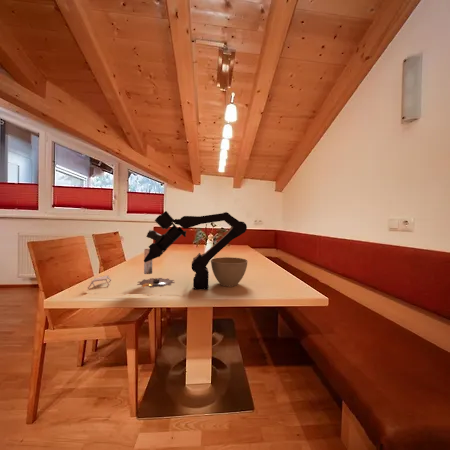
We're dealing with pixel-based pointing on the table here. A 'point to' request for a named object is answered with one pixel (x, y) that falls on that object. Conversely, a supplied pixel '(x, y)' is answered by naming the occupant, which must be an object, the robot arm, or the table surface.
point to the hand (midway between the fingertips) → (145, 260)
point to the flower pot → (229, 270)
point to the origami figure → (100, 280)
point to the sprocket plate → (163, 283)
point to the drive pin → (147, 263)
